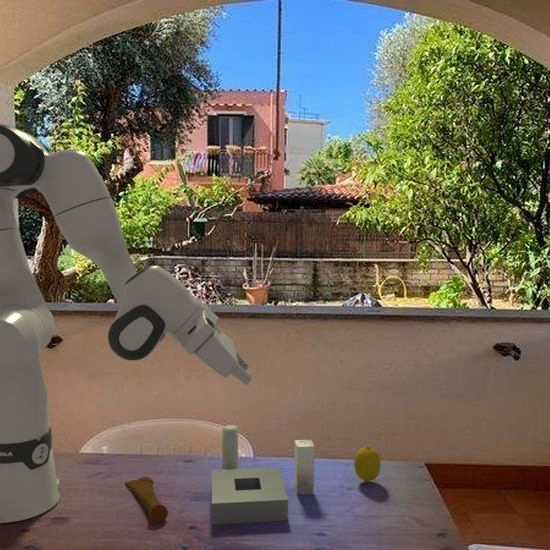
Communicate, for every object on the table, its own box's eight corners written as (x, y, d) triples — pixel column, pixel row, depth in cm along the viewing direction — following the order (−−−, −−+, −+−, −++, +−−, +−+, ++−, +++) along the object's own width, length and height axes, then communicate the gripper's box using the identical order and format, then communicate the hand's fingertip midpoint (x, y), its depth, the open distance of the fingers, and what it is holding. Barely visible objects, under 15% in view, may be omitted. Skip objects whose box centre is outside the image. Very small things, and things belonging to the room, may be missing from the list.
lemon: (383, 479, 117) (384, 444, 116) (375, 490, 112) (376, 453, 111) (358, 474, 119) (359, 439, 119) (350, 484, 114) (351, 448, 114)
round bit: (219, 473, 119) (219, 429, 118) (227, 467, 122) (227, 424, 122) (233, 476, 118) (233, 431, 117) (240, 470, 121) (240, 426, 120)
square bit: (296, 494, 110) (297, 446, 109) (294, 486, 113) (294, 440, 113) (313, 493, 110) (314, 446, 109) (310, 485, 114) (311, 439, 113)
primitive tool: (124, 484, 115) (124, 468, 114) (149, 479, 117) (149, 463, 117) (149, 528, 98) (149, 509, 98) (178, 521, 100) (178, 502, 100)
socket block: (211, 524, 98) (211, 503, 98) (211, 488, 112) (211, 469, 112) (287, 520, 100) (288, 499, 100) (278, 485, 114) (278, 467, 113)
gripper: (188, 330, 117) (234, 372, 119) (183, 351, 96) (239, 401, 98) (208, 309, 117) (254, 352, 119) (208, 325, 97) (263, 376, 99)
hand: (247, 375), depth 108 cm, fingers open, 8 cm apart
